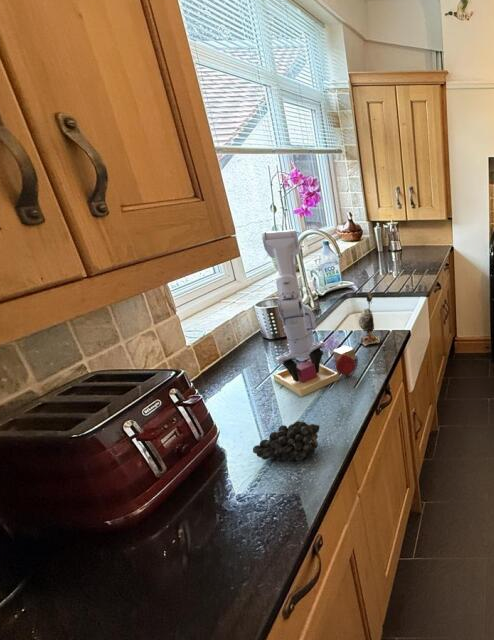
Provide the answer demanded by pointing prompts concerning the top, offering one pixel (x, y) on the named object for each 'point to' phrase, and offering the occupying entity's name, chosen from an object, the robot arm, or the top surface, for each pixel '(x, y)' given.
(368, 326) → the grey figurine
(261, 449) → the fruit
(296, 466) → the top surface
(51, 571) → the top surface
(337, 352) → the ash block
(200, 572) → the top surface
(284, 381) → the tray
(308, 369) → the mulberry block
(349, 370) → the onion
